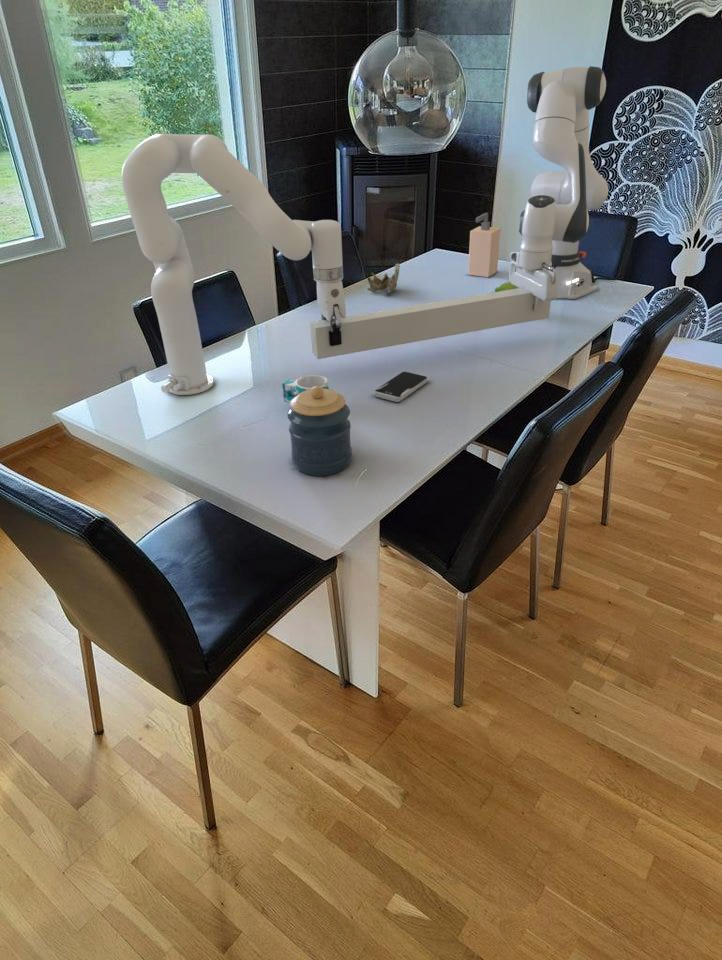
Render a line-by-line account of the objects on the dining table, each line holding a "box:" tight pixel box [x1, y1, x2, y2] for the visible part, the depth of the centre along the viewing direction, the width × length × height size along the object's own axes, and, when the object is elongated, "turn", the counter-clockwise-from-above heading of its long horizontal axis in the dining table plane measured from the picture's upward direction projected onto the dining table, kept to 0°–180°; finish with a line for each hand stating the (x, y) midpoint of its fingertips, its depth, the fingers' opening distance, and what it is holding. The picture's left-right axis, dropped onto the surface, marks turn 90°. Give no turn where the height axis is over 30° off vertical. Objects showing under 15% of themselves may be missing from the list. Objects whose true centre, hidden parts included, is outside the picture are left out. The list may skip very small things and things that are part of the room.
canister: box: [287, 386, 353, 476], centre depth 141 cm, size 13×13×18 cm
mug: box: [281, 374, 330, 404], centre depth 164 cm, size 8×12×8 cm
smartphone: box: [373, 371, 428, 403], centre depth 174 cm, size 8×1×15 cm
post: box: [309, 288, 552, 360], centre depth 187 cm, size 71×5×9 cm, turn 110°
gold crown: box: [367, 263, 401, 296], centre depth 243 cm, size 9×15×10 cm
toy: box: [494, 281, 519, 292], centre depth 221 cm, size 9×9×15 cm
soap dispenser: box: [467, 212, 501, 278], centre depth 252 cm, size 13×9×22 cm
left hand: (332, 340), depth 179 cm, fingers closed on post, 5 cm apart
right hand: (530, 307), depth 196 cm, fingers closed on post, 5 cm apart
